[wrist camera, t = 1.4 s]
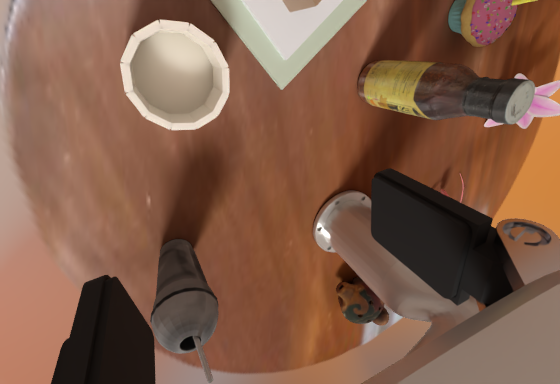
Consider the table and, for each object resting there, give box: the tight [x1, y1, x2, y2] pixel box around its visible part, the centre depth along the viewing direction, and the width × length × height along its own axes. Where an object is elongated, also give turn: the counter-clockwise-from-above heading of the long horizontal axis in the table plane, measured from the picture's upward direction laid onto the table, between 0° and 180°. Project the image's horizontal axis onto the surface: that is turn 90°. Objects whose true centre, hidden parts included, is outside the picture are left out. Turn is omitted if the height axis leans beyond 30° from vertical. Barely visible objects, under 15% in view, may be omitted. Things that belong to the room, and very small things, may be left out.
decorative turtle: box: [336, 278, 389, 325], centre depth 59 cm, size 10×15×8 cm, turn 50°
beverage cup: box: [150, 239, 218, 383], centre depth 33 cm, size 7×7×20 cm
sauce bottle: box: [358, 60, 535, 124], centre depth 34 cm, size 6×6×20 cm
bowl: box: [120, 20, 229, 130], centre depth 29 cm, size 10×10×6 cm
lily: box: [484, 73, 560, 129], centre depth 52 cm, size 12×12×10 cm
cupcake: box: [448, 0, 536, 47], centre depth 38 cm, size 9×8×12 cm
